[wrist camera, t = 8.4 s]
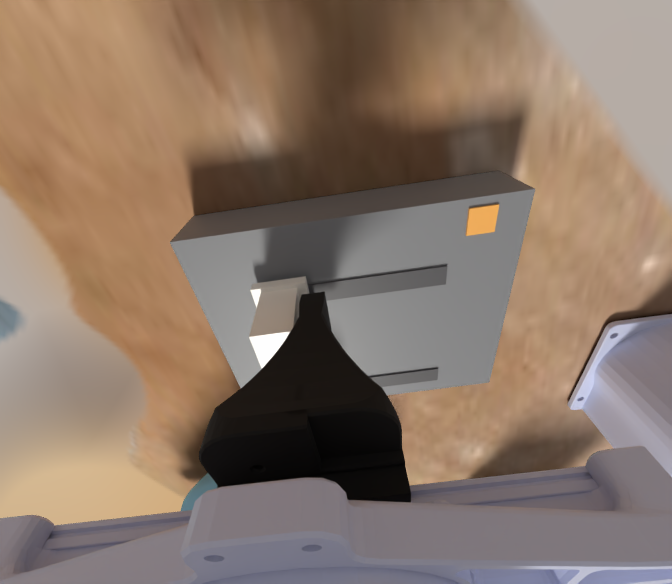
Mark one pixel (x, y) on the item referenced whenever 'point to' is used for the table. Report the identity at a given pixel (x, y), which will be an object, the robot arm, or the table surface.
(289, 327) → the handle
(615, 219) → the table surface
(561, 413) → the table surface
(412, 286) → the slider control panel
